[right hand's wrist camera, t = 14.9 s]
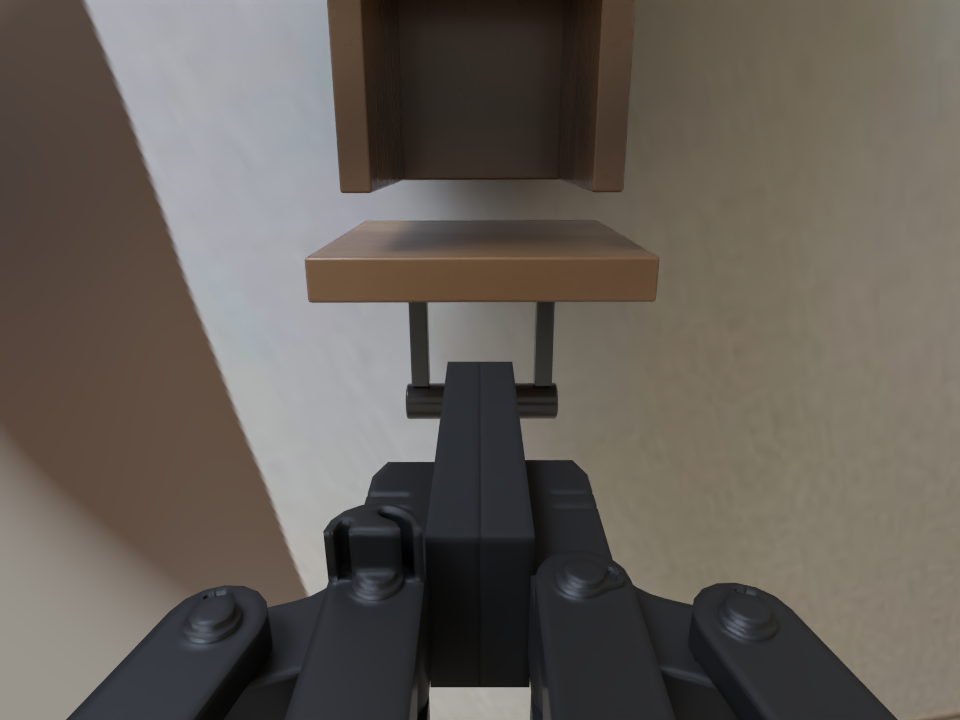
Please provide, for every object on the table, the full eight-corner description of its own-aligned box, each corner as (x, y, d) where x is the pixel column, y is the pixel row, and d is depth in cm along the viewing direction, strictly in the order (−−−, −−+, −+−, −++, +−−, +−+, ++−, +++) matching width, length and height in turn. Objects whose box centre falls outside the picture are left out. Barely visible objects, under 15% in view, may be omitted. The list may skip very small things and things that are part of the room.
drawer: (589, 376, 27) (640, 482, 18) (374, 376, 27) (324, 483, 18) (627, -325, 20) (743, -697, 11) (332, -323, 20) (216, -695, 11)
